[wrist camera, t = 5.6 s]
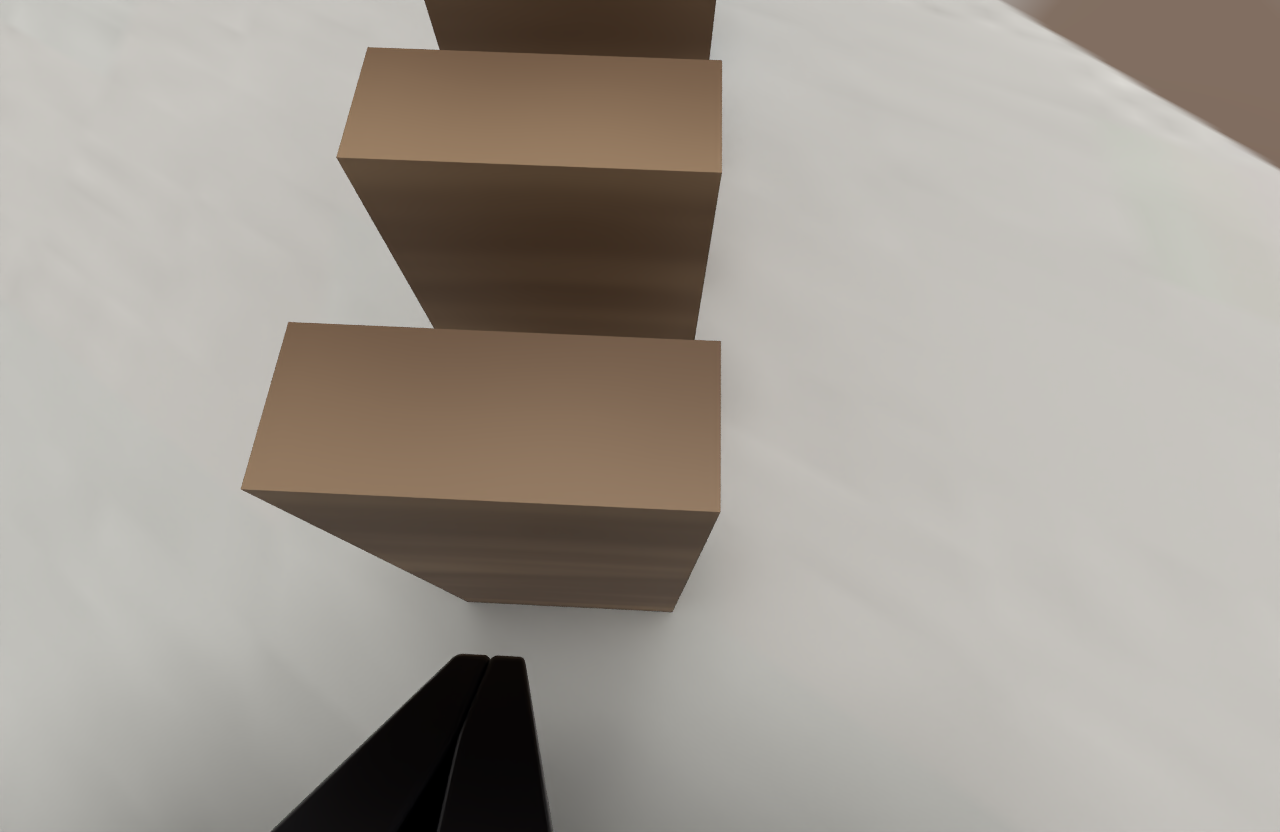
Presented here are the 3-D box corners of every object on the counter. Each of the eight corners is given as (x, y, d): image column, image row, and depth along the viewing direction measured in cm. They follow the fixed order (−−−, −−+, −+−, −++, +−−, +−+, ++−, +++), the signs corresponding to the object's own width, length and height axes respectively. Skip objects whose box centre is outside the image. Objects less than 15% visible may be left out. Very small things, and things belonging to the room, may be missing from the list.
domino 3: (672, 612, 16) (720, 511, 7) (467, 601, 16) (241, 488, 7) (674, 530, 17) (721, 340, 8) (479, 521, 17) (288, 321, 8)
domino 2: (677, 439, 18) (721, 172, 8) (492, 431, 18) (336, 157, 9) (679, 372, 19) (722, 60, 9) (502, 364, 19) (368, 47, 9)
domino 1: (682, 294, 19) (723, -60, 10) (513, 287, 20) (402, -71, 10) (684, 238, 20) (722, -138, 11) (521, 232, 20) (424, -148, 11)
